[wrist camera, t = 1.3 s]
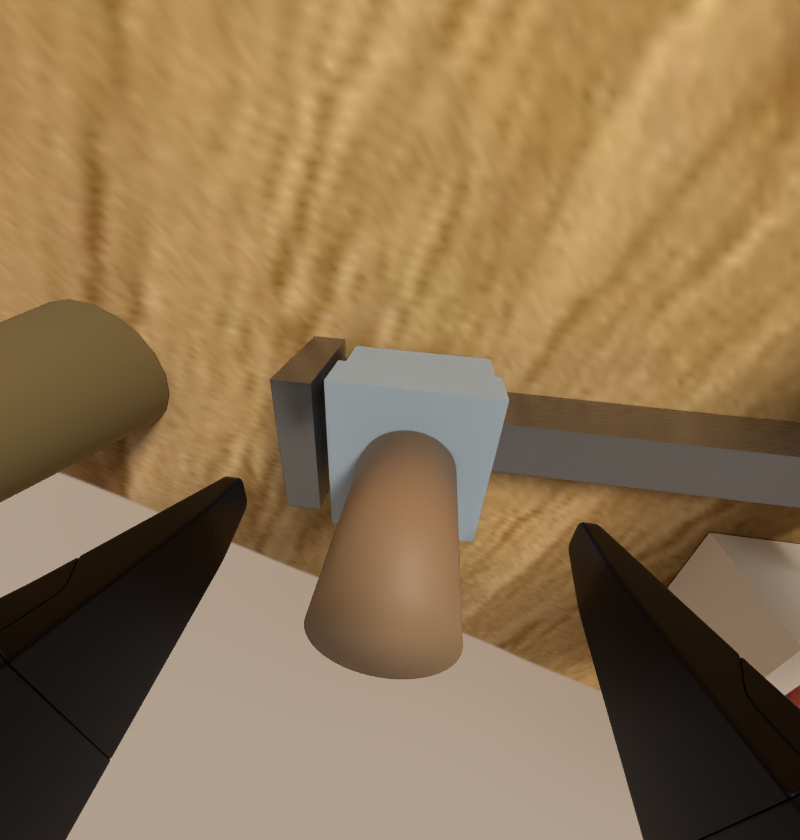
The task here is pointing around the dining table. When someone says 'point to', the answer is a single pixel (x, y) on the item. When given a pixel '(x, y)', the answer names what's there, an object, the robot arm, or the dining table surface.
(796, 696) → the button
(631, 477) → the rail
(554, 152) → the dining table surface
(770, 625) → the socket block
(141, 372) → the olive pepper mill
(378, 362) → the carriage
